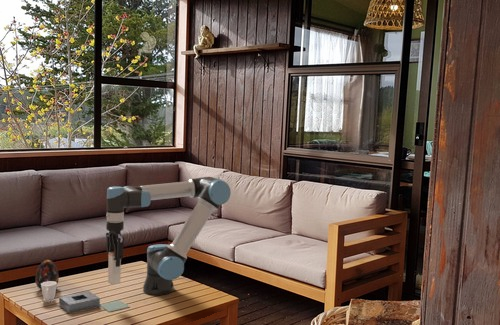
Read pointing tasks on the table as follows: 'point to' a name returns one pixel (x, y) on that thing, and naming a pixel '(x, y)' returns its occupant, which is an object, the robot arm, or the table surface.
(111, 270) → the plug
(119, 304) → the mat
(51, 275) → the egg
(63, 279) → the table surface
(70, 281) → the table surface
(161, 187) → the robot arm
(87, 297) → the grey square holder
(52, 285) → the cup
